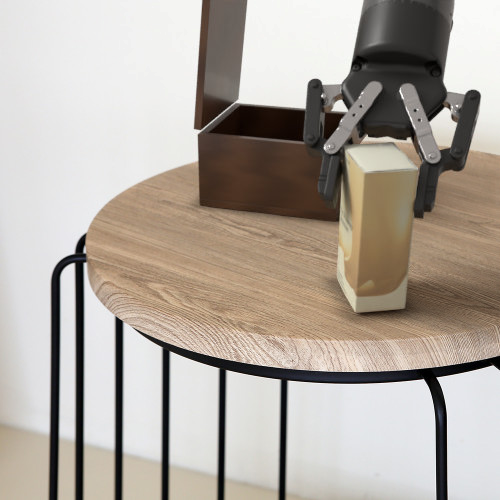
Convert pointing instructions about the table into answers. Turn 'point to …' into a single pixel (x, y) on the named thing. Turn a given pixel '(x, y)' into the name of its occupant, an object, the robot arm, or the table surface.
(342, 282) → the cosmetic box
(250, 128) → the chest
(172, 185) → the table surface
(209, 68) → the lid
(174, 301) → the table surface
